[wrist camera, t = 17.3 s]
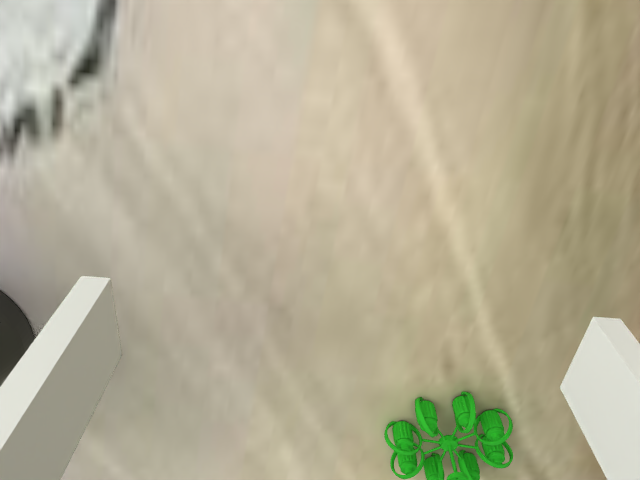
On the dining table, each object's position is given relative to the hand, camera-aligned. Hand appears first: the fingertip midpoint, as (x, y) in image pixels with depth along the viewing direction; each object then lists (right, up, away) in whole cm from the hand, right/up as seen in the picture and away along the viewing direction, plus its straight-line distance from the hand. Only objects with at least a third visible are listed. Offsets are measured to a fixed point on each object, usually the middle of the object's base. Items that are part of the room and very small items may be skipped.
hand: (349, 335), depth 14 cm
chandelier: (+14, -19, +45) cm, 51 cm away
